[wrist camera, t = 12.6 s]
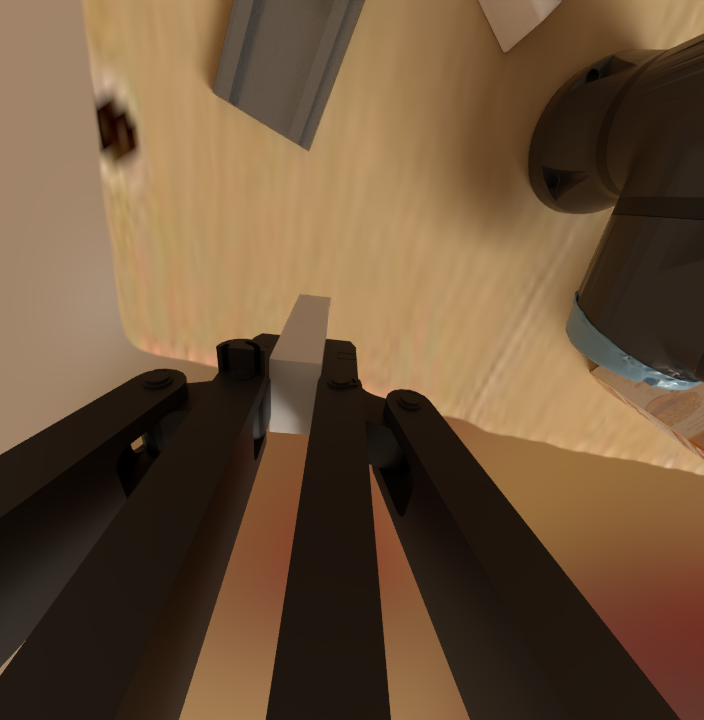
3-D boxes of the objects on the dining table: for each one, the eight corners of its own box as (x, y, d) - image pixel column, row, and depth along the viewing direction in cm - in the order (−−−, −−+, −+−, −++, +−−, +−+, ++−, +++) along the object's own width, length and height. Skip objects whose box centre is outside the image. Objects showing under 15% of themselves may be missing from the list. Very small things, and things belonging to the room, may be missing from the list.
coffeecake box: (608, 392, 54) (732, 483, 37) (588, 371, 52) (711, 457, 35) (693, 333, 49) (884, 406, 32) (675, 307, 47) (871, 370, 29)
